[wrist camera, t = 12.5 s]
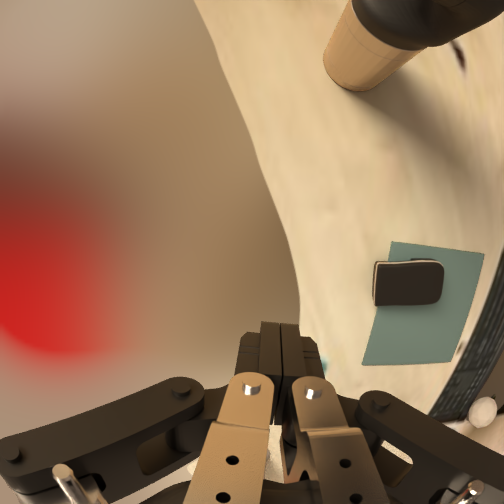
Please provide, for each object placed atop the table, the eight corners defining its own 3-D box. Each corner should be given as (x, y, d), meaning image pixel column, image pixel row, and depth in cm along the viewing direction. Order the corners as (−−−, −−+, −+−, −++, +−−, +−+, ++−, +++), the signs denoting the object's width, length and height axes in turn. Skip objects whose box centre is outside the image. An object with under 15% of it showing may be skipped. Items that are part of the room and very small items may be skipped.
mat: (391, 241, 43) (392, 241, 42) (483, 253, 42) (484, 254, 42) (361, 364, 48) (362, 365, 48) (449, 361, 48) (450, 361, 47)
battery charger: (369, 298, 46) (433, 295, 44) (373, 308, 42) (441, 305, 40) (372, 256, 44) (438, 255, 42) (377, 263, 40) (447, 262, 38)
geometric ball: (477, 395, 53) (494, 414, 48) (458, 417, 52) (475, 437, 46) (488, 385, 48) (507, 405, 43) (469, 409, 47) (488, 430, 41)
